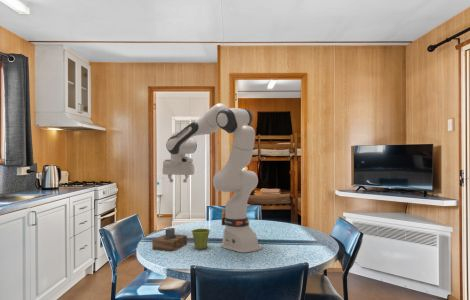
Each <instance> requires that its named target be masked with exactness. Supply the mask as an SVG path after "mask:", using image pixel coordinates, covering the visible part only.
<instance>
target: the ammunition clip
mask: <svg viewBox="0 0 470 300" xmlns="http://www.w3.org/2000/svg"><path fill="white" fill-rule="evenodd" d="M225 217H226V206H225V207H222V210H221V225H222V226H226V225H225Z"/></svg>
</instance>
